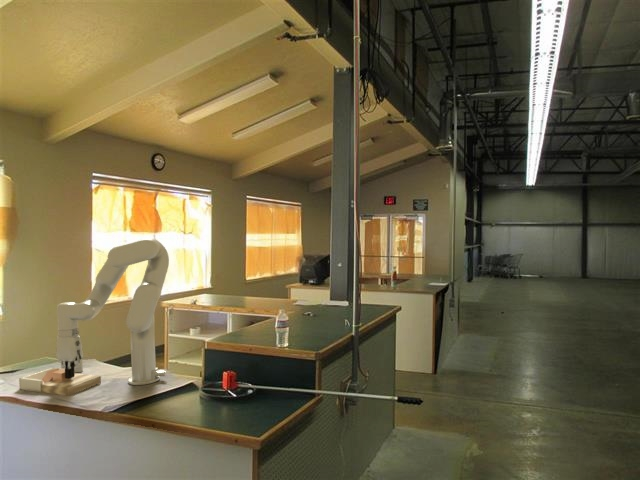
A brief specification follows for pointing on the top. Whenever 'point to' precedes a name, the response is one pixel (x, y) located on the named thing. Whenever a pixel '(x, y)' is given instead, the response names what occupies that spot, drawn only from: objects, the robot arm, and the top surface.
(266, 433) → the top surface
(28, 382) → the tray
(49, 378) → the tile
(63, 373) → the tile
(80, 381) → the board
